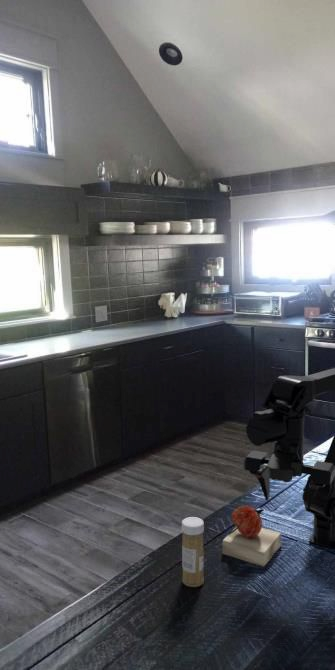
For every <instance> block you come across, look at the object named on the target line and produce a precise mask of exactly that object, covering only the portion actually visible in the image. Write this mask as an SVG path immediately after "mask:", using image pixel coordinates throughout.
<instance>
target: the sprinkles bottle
mask: <svg viewBox="0 0 335 670" xmlns="http://www.w3.org/2000/svg"><path fill="white" fill-rule="evenodd" d="M204 523H205V522H204V520H203V519H201V518H199V517H196V516H189V517H185V518H184V519H182V521H181V534H182V543H181V544H182V545H181V547H182V548H181V553H182V554H181V555H182V559H181V560H182V566H181V568H182V579H181V580H182V583H183V585H184V586H186V587H189V588H197V587H200V586H202V585H203V584H204V581H205V579H204V531H205V524H204Z"/></svg>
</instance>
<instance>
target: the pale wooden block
mask: <svg viewBox="0 0 335 670" xmlns="http://www.w3.org/2000/svg"><path fill="white" fill-rule="evenodd" d="M236 528H237V526H236V527H235V528H234V529H236ZM228 534H229V533H228ZM281 541H282V532H280V531H276V530H273V529H268V528H264V527H262V528H261V531H260V532H259V534H258V535H257V536H255V537H253V538H250V539H247V538H245V537H244V535H243V534H242V533H240V532H239V531H238V529H237V530H236V531H234V532H233V533H231V534H229V535H227V536H226V537H225V538H224V539H223V540H222V554H223V555H226V556H229V557H233V558H236V559H239V560H242V561H245V562H247V563H251V564H254V565H258V566H261V567H265V566H266V565H267V564H268V563H269V562H270V560H271V559H272V558H273V556H274V555H275V553H277V551H278V550H279V549H280V548H281V547H282V542H281Z"/></svg>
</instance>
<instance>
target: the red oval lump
mask: <svg viewBox="0 0 335 670" xmlns="http://www.w3.org/2000/svg"><path fill="white" fill-rule="evenodd" d="M264 511H265V509H263V508H260V509H255V507H252V506H250V505H247V504H245V505H240V506H238V507H236V509H235V510H234V511H233V512H232V514H231V517H230V520H231V521H232V523H233V524H234V525H235V526H236V527H237V528H236V527H235V528H236V529H235V528H233V529H232V530H231V531H230V532H229V533H228V535H229V534H231V533H233V532H234V531H236V530H237V529H238V531H239V532H240V533H242V534H243V535H244V537H245V538H247V539H250V538H253V537H255V536H257V535H258V534H259V532H260V531H261V528H263V520H262V516H261V514H262V513H263V512H264ZM228 535H227V536H228Z"/></svg>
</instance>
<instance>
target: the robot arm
mask: <svg viewBox="0 0 335 670" xmlns="http://www.w3.org/2000/svg"><path fill="white" fill-rule="evenodd" d="M331 391H335V367H333V368H330V369H326V370H322V371H319V372H316V373H312V374H309V375H304V376H303V375H302V376H301V375H280V376H278V377H276V379H275V381H274V383H273V384H272V385H271V388H270V390H269V392H268V394H267V395H266V398H265V400H264V402H263V403H262V406H261V409H264V410H261V411H260V410H259V411H255V412H253V417H252V418H250V419H249V420H248V422H247V425H246V426H245V431H246V436H247V439H248V440H249V442H250V443H251V444H252V445H254V446H255V447H256V446H257V447H261V446H264V445H267V444H268V445H269V444H271V443H274V445H273V446H274V447H273V448H274V449H273V450H272V451H273V452H272V454H271V456H269V455H270V454H269V453H268V451H267V452H266V451H261V450H255V449H253V450H251V452H249V454H247V456H245V457H244V460H243V469H244V470H245V471H249V474H250V475H253V476H254V477H256V479H257V480H258V482H259V485H260V487H261V490H262V493H263V496H264V499H265V501H269V500H270V493H271V484H270V483H271V480H272V481H273V480H274V481H275V480H276V481H281V482H283V483H290V482H291V481H292V480H293V478H296V477H298V478H299V477H302V475H304V474H305V475H309V476H308V477H307V480H306V483H305V486H304V487H303V489H302V491H303V492H302V498H301V499H302V500H303V505H304V509H305V511H306V512H307V513H310V514H312V515H313V527H312V528H313V530H312V533H311V535H310V537H309V538H308V543H310V544H314V545H317V546H323V547H326V548H327V547H328V548H330V549H335V434H334V435H333V438H332V440H331V443H330V446H329V448H328V450H327V454H326V456H325V458H324V461H320V460H316V462H314V465H312V464H311V465H310V464H304V458H305V457H304V443H305V437H304V434H305V433H304V432H305V431H304V428H305V415H306V414H310V413H312V410H311V408H309V407H308V406H307V405H309V404H311V403H312V402H314V399H315V397H317V396H319V395H321V394H325V393H328V392H331ZM280 403H281V404H280ZM287 405H288V406H287Z"/></svg>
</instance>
